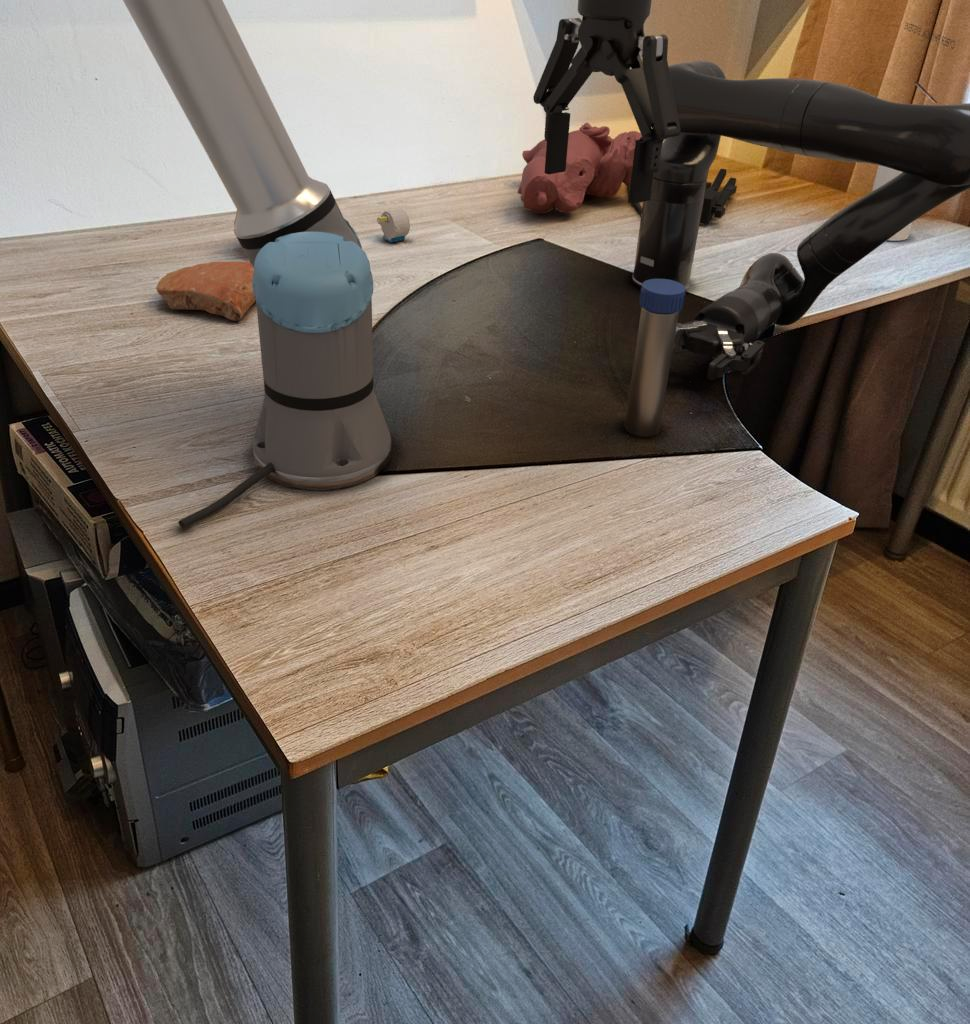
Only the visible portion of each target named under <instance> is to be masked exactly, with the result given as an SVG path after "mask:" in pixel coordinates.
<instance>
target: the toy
mask: <svg viewBox="0 0 970 1024" xmlns="http://www.w3.org/2000/svg"><path fill="white" fill-rule="evenodd" d="M727 171H728V170H727V169H726V168H720V169H719V171H718V173H717V175H716V177H715V178H714V180H713V182H710V181H707V182H706V188H705V194H704V201H703V207H702V212H701V218H700V224H699V225H706V226H707V225H709V223H711V221H712V220H713V218H716V219H722V217H723V216H724V215H725V212H726V204H727V203H728V201H729V199H730V198H731V197H732V196H734V195H735V194H736V193H737V188H738V185H736V182H737V177H732V176H731V177H730V178H729V179H728V180H727V182H726V183H725V185H724V187H723V188H722V190H719V189H720V188H721V186H722V184H723V181H724V180H725V178H726V176H727Z"/></svg>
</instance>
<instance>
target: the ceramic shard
mask: <svg viewBox="0 0 970 1024" xmlns="http://www.w3.org/2000/svg"><path fill="white" fill-rule="evenodd" d="M253 274H254V268H253V266H252V264H251V263H250V261H210V262H206V263H205V262H204V263H199V264H195V265H192V266H186V267H185V266H184V267H183V268H179V269H177V270H174V271H171V272H168V273H166V274H165V276H163V277H162V278H161V279H159V281H158V283H157V285H156V288H155V289H156V292H157V294H159V295H160V296H161V297H162V298H163V299H164V300H165V302H166V304H167V305H168V307H169V309H172V310H190V311H191V310H195V311H196V310H201V311H206V312H207V313H210V314H211V315H218V316H222V317H225V319H228V320H230V321H234V322H236V321H237V322H238V321H241V319H242V318H243V317H244V316H245V314H246V313H247V312H248V310H249V309H250V308H251V306H252V305H253V304H254V303H256V298H255V296H254V293H253V286H252V282H253Z"/></svg>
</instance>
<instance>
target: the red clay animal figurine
mask: <svg viewBox="0 0 970 1024" xmlns="http://www.w3.org/2000/svg"><path fill="white" fill-rule="evenodd" d="M610 130H611V129H610V127H608V126H607V125H605V126H604V125H602V126H600V127H598V126H592V125H591V124H590V123H589V122H585V123H584V124H581V126H580V127H579V129H576V130H573V131H569V137H568V148H567V160H566V171H565V172H560V173H554V174H546V173H545V160H546V146H547V141H545V138H544V139H542V140H540V141H539V142H538V143H536V145H535V146H534V147H532V148H531V149H529V150H523V151H522V153H521V156H522V158H523V160H524V162H525V163H526V164H525V166H524V168H523V170H522V172H521V173H522V174H521V180H520V181H521V182H520V185H519V186H518V189H517V194H518V195H520V200H521V202H522V203H523V207H524V209H525V210H529V211H530V212H532V213H535V214H546V213H549V212H551V211H552V210H553V209H554V208H555V209H556V210H557V211H559V212H560V213H564V214H569V213H573V212H575V211H578V209H579V208H581V206H582V203H584V199H585V195H591V196H593V197H596V198H599V197H604V198H606V197H608V198H610V197H613V196H614V195H617V194H618V192H619V191H620V189H621V186H622V184H624V185H625V186H627V187H628V186H630V183H631V175H632V167H633V159H634V151H635V143H636V140H639V139H640V138H641V137H642V135H641V132H640V131H639V132H638V131H636V130H631V131H628V132H627V131H624V132H621V133H618V135H617V136H615V137H614V138H612V137H611V136H610V135H609V134H610Z"/></svg>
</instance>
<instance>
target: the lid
mask: <svg viewBox="0 0 970 1024" xmlns="http://www.w3.org/2000/svg"><path fill="white" fill-rule="evenodd" d="M686 290H687V289H686V288H685V286H684V285H682V284H681V283H679V282H676V281H673V280H668V279H650V280H646V281H644V282H643V283H642V288H641V287H640V291H639V299H638V304H639V305H640V307H641V308H644V309H646V310H648V311H651V312H656V313H664V314H669V313H676V312H679V313H680V312H681V311H682V310H683V308H684V305H685V300H686V293H687V292H686Z"/></svg>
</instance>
